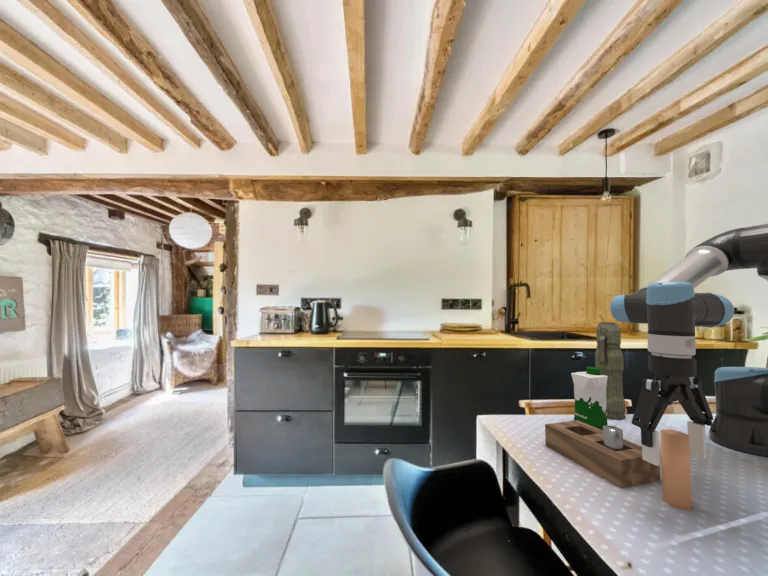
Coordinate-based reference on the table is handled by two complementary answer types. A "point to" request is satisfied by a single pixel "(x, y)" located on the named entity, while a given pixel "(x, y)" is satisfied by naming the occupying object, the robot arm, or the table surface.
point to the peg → (676, 469)
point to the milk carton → (590, 397)
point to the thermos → (611, 367)
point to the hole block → (600, 454)
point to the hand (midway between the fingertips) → (674, 458)
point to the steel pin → (613, 437)
